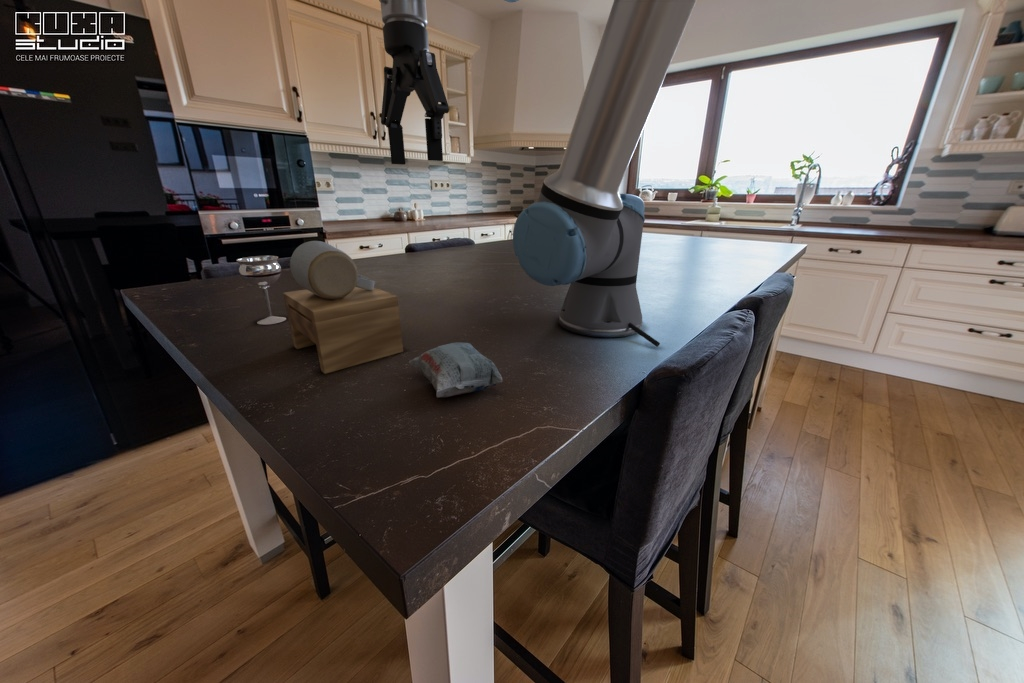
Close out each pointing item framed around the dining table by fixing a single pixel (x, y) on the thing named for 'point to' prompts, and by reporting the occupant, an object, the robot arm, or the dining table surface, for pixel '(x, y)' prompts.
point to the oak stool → (345, 326)
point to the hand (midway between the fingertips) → (415, 162)
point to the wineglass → (262, 278)
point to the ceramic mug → (326, 270)
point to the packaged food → (457, 369)
